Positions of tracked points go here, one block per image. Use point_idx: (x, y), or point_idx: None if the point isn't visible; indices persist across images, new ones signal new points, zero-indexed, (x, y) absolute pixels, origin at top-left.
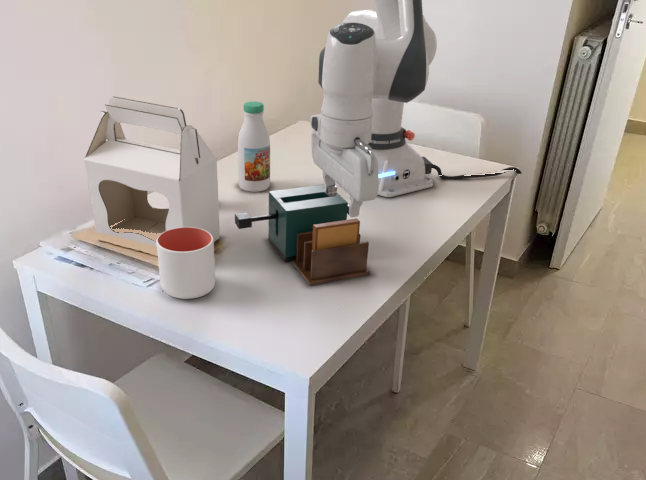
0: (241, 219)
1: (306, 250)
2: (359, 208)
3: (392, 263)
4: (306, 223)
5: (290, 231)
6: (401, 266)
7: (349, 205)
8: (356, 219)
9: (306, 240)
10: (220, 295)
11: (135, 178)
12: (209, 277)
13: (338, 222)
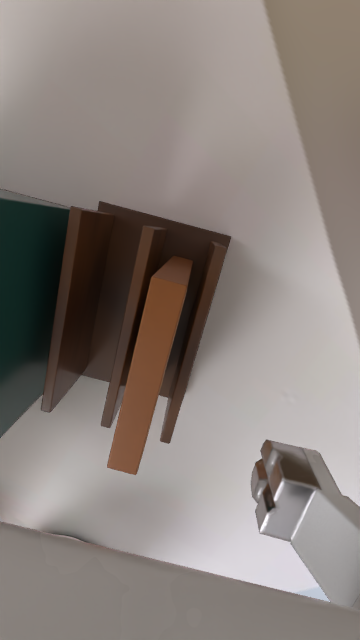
0: None
1: (117, 409)
2: (335, 485)
3: (217, 121)
4: (6, 372)
5: (14, 412)
6: (249, 108)
7: (274, 528)
8: (160, 287)
9: (64, 375)
10: (117, 541)
11: None
12: None
13: (143, 378)
